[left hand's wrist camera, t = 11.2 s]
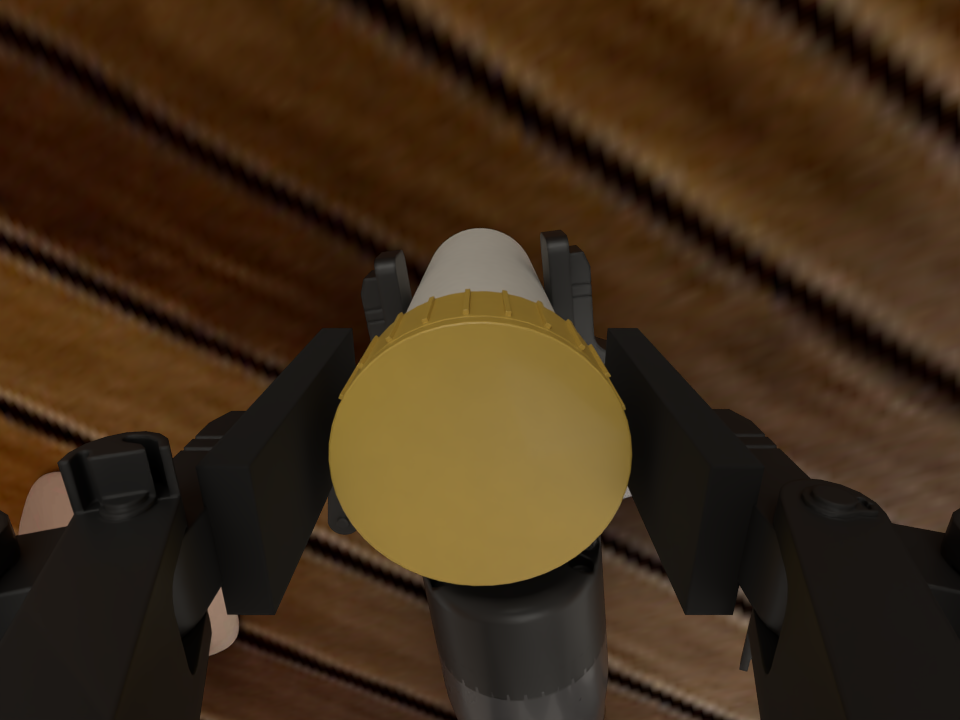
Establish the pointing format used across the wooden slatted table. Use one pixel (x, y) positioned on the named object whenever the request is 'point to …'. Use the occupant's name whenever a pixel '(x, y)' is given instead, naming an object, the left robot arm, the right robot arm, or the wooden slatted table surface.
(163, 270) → the wooden slatted table surface
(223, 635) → the anatomical model
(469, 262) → the bottle
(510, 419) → the lid
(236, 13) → the wooden slatted table surface
